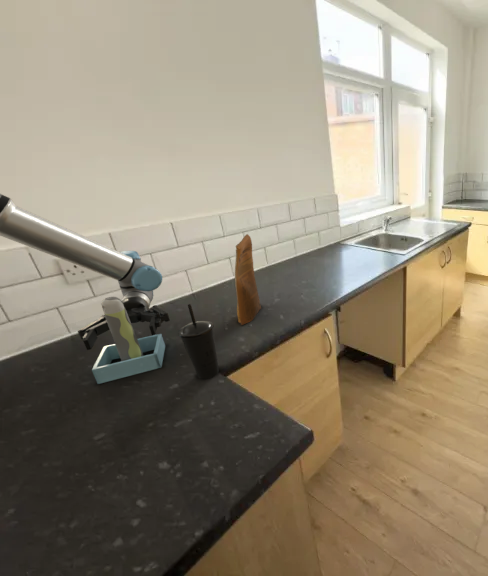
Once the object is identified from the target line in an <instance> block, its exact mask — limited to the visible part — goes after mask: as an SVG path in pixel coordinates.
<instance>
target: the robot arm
mask: <svg viewBox="0 0 488 576" xmlns="http://www.w3.org/2000/svg"><path fill="white" fill-rule="evenodd" d="M0 237H2V238H5V239H7V240H11V241H14V242H15V243H18V244H21V245H23V246H27V247H29V248H32V249H34V250H36V251H40V252H41V253H44V254H47V255H50V256H53V257H55V258H58V259H61V260H63V261H65V262H68V263H71V264H73V265H76V266H79V267H81V268H84V269H86V270H90V271H92V272H95V273H97V274H100V275H101V276H104V277H108V278H111V279H113V280H115V281H117V283H118V285H119V289H120V290H121V294H122V298H121V299H120V300H121V301H122V302H123V304H124V307H125V309H126V311H127V314H128V317H129V319H130V322H131V324H137V323H146V322H147V323H149V326H148V328H149V331H150V333H151V336H153V335H157V330H158V328H160V327H162V324H163V322H165V323H166V322H167V323H169V322H170V321H171V319H170V315H169V312H167V311H165V310H163V309H162V308H160V307H158V305H157V304H154V305H152V306H151V303H152V301H153V299H154V291H155V290H157V289H158V288H159V287H160V286H161V285H162V282H163V275H162V273H161V271H159V270H158V269H157V267H154V266H152V265H149V264H147V263H144V262H142V258H141V257H140V254H139V252H138V251H136V250H123V251H118V250H116V249H114V248H112V247H109V246H106V245H104V244H102V243H100V242H98V241H95V240H93V239H92V238H89V237H87V236H84V235H83V234H80V233H78V232H77V231H73V230H71V229H68V228H67V227H64V226H62V225H60V224H57V223H55V222H53V221H51V220H49V219H47V218H44V217H42V216H40V215H37V214H35V213H33V212H31V211H29V210H27V209H24V208H22V207H20V206H18V205H16V204H15V203H14V201H13V198H11V197H9V196H6V195H5V194H2V193H0ZM150 306H151V307H150ZM108 331H110V329H109V326H108V323H107V321H106V318H105V314H102V315H101V316H99V317H98V318H97V319H96V320H94V321H92V322H90V323H88V324H87V325H85V326H83V327H81V328H80V329H78V330H77V333H78V336H79V338H80V340H82V341H83V344H84V347H85V348H86V350H87V351H89V350H92V349H93V347H94V345H95V344H96V342H97V340H98V338H99V337H98V336H101V335H102V334H104V333H107V332H108Z"/></svg>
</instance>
